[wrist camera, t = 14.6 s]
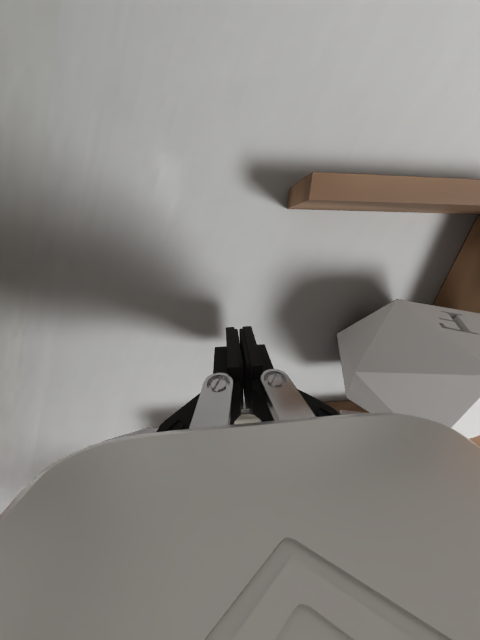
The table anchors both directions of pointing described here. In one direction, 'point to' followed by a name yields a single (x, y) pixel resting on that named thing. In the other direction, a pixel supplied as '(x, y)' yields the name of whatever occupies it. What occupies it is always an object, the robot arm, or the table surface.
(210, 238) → the table surface
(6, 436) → the table surface
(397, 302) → the die
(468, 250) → the walnut bay
